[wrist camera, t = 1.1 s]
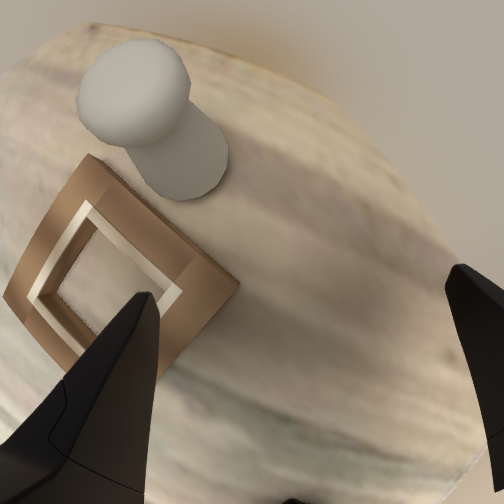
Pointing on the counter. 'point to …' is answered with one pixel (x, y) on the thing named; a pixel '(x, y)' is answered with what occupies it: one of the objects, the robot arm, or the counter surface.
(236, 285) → the socket board
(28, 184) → the counter surface
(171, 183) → the salt shaker
